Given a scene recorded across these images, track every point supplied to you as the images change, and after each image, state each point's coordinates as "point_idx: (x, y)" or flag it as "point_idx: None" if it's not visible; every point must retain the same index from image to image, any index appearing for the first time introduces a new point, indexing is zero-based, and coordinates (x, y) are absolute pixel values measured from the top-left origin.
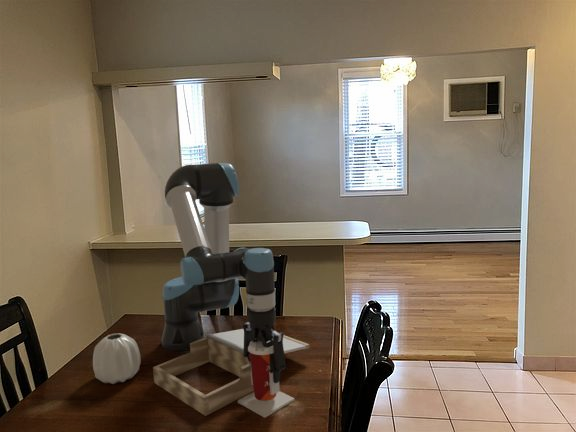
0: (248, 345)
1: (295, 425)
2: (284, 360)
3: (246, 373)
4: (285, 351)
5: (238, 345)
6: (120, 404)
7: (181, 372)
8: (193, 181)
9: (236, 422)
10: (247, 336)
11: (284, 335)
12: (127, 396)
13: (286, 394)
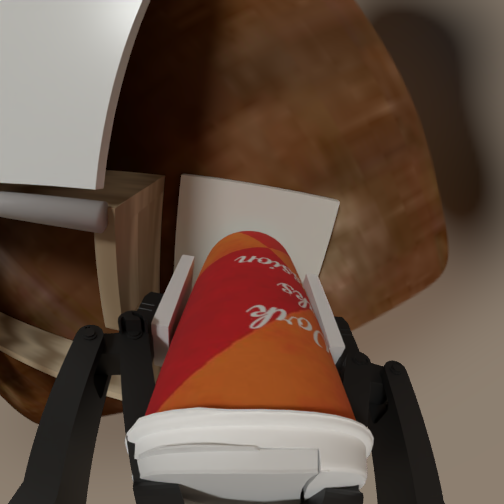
0: (93, 419)
1: (390, 303)
2: (414, 402)
3: (132, 297)
4: (144, 1)
5: None
6: (37, 380)
7: None
8: None
9: None
10: (85, 488)
11: None
12: (20, 361)
13: (298, 194)
